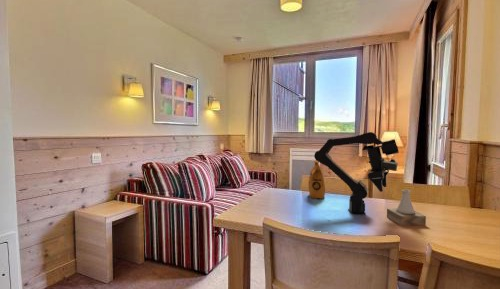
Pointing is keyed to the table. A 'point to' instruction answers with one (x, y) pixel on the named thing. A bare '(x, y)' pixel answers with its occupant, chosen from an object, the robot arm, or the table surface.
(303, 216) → the table surface
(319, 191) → the coffee package
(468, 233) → the table surface
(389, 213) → the walnut block
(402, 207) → the flask
